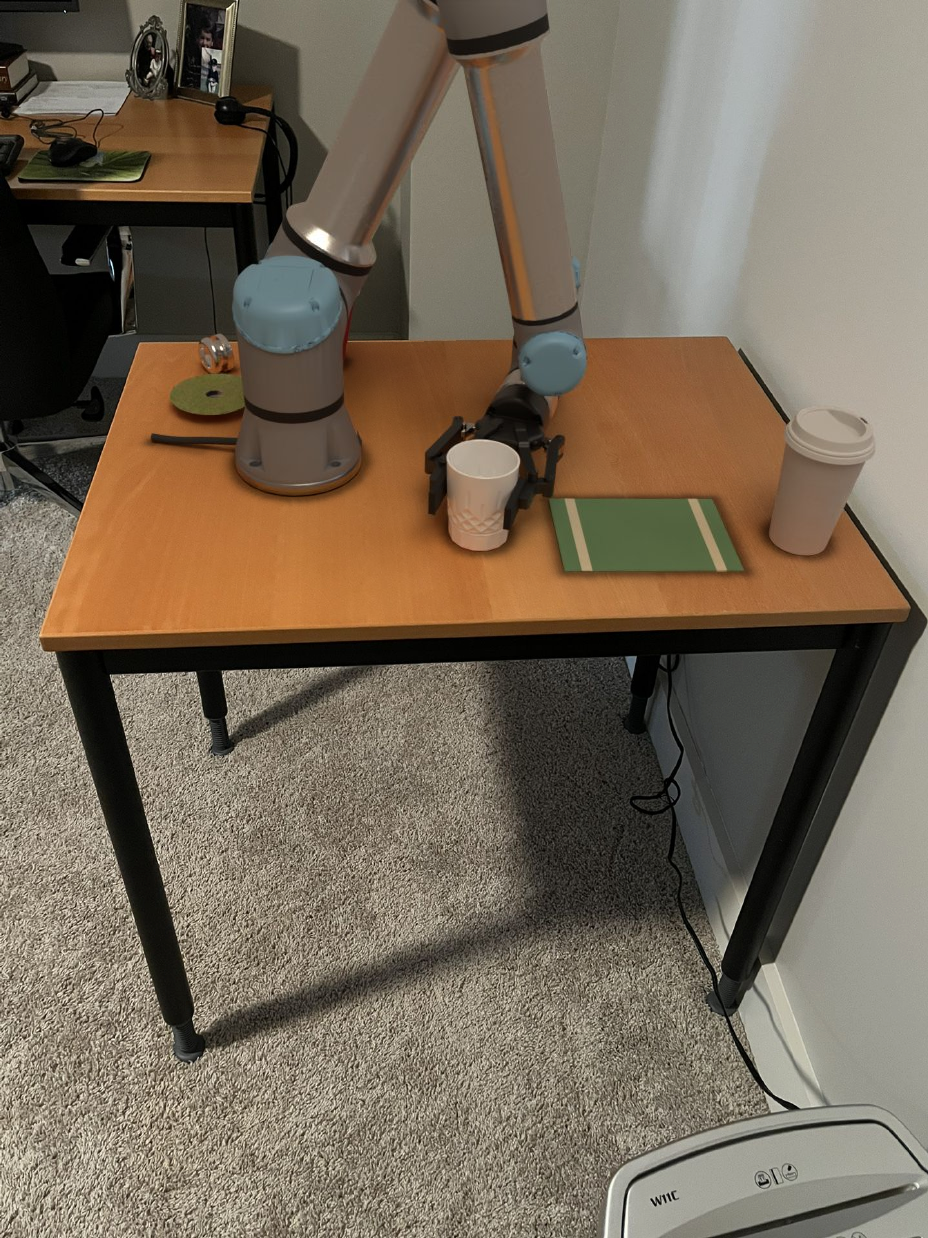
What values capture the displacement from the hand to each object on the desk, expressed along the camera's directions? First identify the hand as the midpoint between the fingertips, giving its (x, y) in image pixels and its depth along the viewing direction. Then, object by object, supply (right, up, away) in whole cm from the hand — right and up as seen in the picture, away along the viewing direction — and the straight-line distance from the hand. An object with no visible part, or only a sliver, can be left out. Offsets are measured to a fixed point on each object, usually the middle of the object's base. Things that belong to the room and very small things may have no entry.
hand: (469, 511), depth 105 cm
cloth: (+20, -2, +9) cm, 22 cm away
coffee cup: (+38, -2, +10) cm, 39 cm away
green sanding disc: (-34, +17, +27) cm, 46 cm away
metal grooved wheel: (-35, +23, +35) cm, 55 cm away
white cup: (+1, -2, +8) cm, 8 cm away
